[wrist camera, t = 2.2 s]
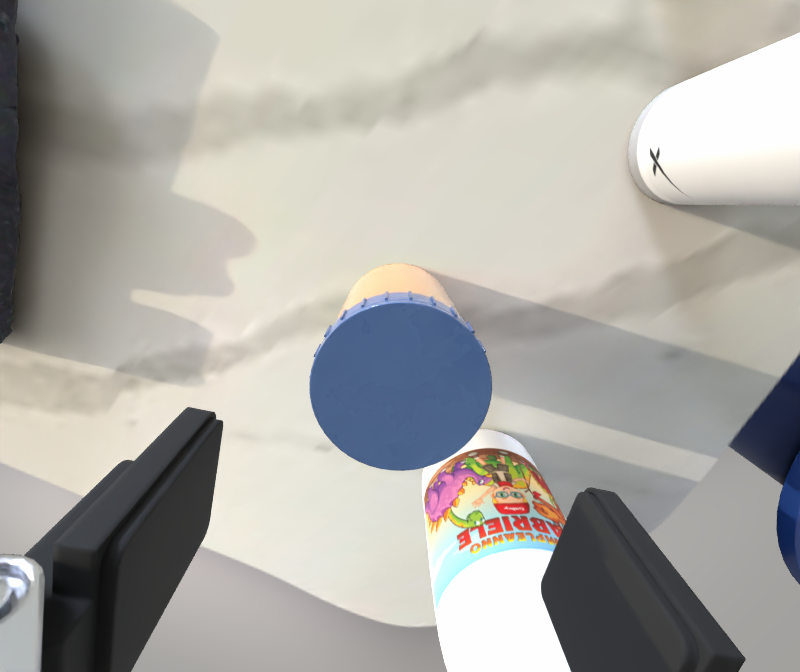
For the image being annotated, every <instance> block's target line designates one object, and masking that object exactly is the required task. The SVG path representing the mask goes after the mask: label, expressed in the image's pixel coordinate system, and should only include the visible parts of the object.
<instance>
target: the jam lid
mask: <svg viewBox="0 0 800 672" xmlns="http://www.w3.org/2000/svg"><path fill="white" fill-rule="evenodd" d="M474 333H475V331H474V330H473V328H472V327H471V325H470V324H469V322H468V321H467V322H465V321H464V320H463V319H462V317H461V316H460V315H459V314H457V313H456V311H455V309H454V308H453V307H452V306H451V307H448V306H447V305H445V304H444V303H442V302H440V301H438V300H435V298H434V296H431V297H428V296H424V295H421V294H415V293H412V292H411V291H408V292H394V293H388V291H386V292H385V294H381V295H376V296H373V297H371V298H368V299H366V298H363V300H362V301H361V302H359V303H358V304H356V305H354V306H353V307H351V308H350V309H348V310H346V309H345V310H344V311H343V313H342V315H341V316H340V317H339V318H338V319H337V321H336V322H335V323H334V324H333V325H332V326H331V325H330V326H329V328H328V329H327V331H326V333H325V335H324V337H325V338H324V340H323V342H322V344H320V345H319V347H318V349H317V351H316V352H315V354H314V357H315V359H314V362H313V366H312V369H311V375H310V398H311V404H312V408H313V411H314V414H315V417H316V419H317V421H318V423H319V425H320V427H321V428H322V430H323V431H324V433H325V434H326V436H327V437H328V438H329V439H330V440H331V441H332V443H333V444H335V445H336V446H337V447H338V448H339V449H340V450H341V451H343V452H344V453H346V454H347V455H348V456H350V457H352V458H353V459H355V460H357V461H359V462H361V463H364V464H367V465H369V466H373V467H376V468H380V469H387V470H401V471H404V470H415V469H420V468H425V467H428V466H431V465H434V464H437V463H439V462H441V461H443V460H445V459H447V458H449V457H450V456H452V455H454V454H455V453H457V452H458V451H459V450H460V449H462V448H463V447H464V446H465V445H466V444H467V443H468V442H469V441H470V440H471V439H472V438H473V437H474V435H475V434H476V433H477V431H478V430H479V428H480V426H481V425H482V423H483V421H484V419H485V417H486V414H487V412H488V409H489V405H490V401H491V393H492V377H491V371H490V366H489V363H488V360H487V357H486V354H485V352H486V350H485V349H484V347H483V346H482V344H481V342H480V341H479V340H477V338H476V336H475V335H474Z"/></svg>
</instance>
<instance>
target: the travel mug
mask: <svg viewBox="0 0 800 672" xmlns="http://www.w3.org/2000/svg"><path fill="white" fill-rule="evenodd" d="M628 162H629V168H630V171H631V175H632V177H633V179H634V181H635V183H636V185H637V186H638V187H639V189H640V190H641V191H642V192H643V193H644V194H645V195H647V196H648V197H650V198H651V199H652V200H655V201H657V202H660V203H663V204H669V205H800V33H798V34H796V35H793V36H791V37H789V38H786V39H784V40H782V41H779V42H777V43H774V44H772V45H770V46H767V47H765V48H763V49H760V50H758V51H755V52H753V53H751V54H748V55H746V56H744V57H741V58H739V59H736V60H734V61H732V62H729V63H727V64H725V65H722V66H720V67H717V68H715V69H713V70H710V71H708V72H706V73H703V74H701V75H698V76H696V77H694V78H692V79H689V80H687V81H684V82H682V83H679V84H677V85H675V86H673V87H671V88H669V89H667V90H665V91H663V92H662V93H661V94H659V95H658V96H656V97H655V98H654V99H653V100H652V101H651V102H650V103H649V104H648V105H647V106H646V107H645V109H644V110H643V111H642V113H641V114H640V116H639V117H638V119H637V121H636V123H635V125H634V128H633V130H632V133H631V137H630V140H629V147H628Z"/></svg>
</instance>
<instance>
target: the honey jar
mask: <svg viewBox="0 0 800 672" xmlns="http://www.w3.org/2000/svg"><path fill="white" fill-rule="evenodd" d="M386 291H388V293H394V292H408V291H411V292H412V293H415V294H421V295H424V296H428V297H431V296H434V298H435V300H438V301H440V302H442V303H444V304H445V305H447V306H448V307H451V306H452V307H453V308H454V309H455V311H456V313H457V314H459V313H458V311H457V309H456V308H455V306H454V304H453V303H452V301H451V299H450V298H449V296H448V294H447V293H446V291H445V289H444V288H443V286H442V285H441V284H440V282H439V281H438V280H437V279H436V278H435V277H433V276H432V275H431V274H430V273H428V272H427V271H425V270H423V269H421V268H419V267H416V266H412V265H408V264H388V265H384V266H380V267H378V268H375V269H373V270H371V271H370V272H368V273H367V274H365V275H364V276H363V277H362V278H360V279H359V280H358V281H357V283H356V284H355V285H354V286H353V288H352V290H351V291H350V293H349V295H348V297H347V299H346V301H345V303H344V305H343V307H342V309H341V311H340V313H339V315H338V317H337V319H338V318H339V317H340V316H341V315H342V313H343V311H344V310H345V309H346V310H348V309H350V308H351V307H353V306H354V305H356V304H358V303H359V302H361V301H362V300H363V298H366V299H368V298H371V297H373V296H376V295H381V294H385V292H386ZM459 315H460V314H459ZM337 319H336V321H337ZM336 321H335V322H336Z"/></svg>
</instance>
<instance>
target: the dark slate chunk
mask: <svg viewBox="0 0 800 672" xmlns="http://www.w3.org/2000/svg"><path fill="white" fill-rule="evenodd" d="M17 6H18V0H0V344H1V343H2V342H3V340H4V339H5V338H6V337H7V336H9V335H10V334H11V333H12V331H13V330H12V328H11V325H10V324H11V322H13V319H14V318H13V313H12V307H13V299H12V294H11V290H12V288H13V286H14V284H15V281H14V273H15V269H16V262H17V255H18V250H19V232H18V230H17V228H18V225H19V223H20V220H21V217H20V213H19V211H20V206H21V202H20V198H21V195H20V191H19V187H18V173H17V170H16V146H17V140H18V137H19V125H18V122H17V119H18V110H17V104H18V99H19V94H18V89H17V88H18V86H17V82H16V80H17V77H18V75H17V62H18V57H19V55H18V49H17V44H18V42H19V37H18V35H16V34H15V24H16V18H17Z"/></svg>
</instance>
